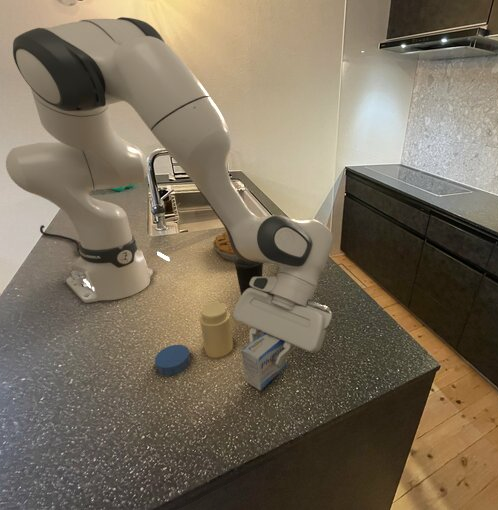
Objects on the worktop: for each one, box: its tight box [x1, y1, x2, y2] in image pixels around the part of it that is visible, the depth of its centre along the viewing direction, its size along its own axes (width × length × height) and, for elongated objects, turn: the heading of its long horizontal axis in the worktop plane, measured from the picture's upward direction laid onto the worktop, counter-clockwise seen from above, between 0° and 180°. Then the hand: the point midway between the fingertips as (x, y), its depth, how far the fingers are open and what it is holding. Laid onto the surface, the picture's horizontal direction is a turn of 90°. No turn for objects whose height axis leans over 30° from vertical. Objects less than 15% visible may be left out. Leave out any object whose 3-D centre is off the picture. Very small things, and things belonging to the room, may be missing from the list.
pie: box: [212, 231, 237, 262], centre depth 111 cm, size 22×22×5 cm
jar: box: [199, 301, 234, 359], centre depth 67 cm, size 6×6×11 cm
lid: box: [154, 344, 192, 376], centre depth 64 cm, size 6×6×2 cm
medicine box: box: [241, 332, 288, 391], centre depth 61 cm, size 8×4×9 cm, turn 148°
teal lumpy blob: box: [110, 184, 136, 192], centre depth 161 cm, size 10×10×10 cm
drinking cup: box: [232, 257, 264, 297], centre depth 80 cm, size 8×8×20 cm
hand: (263, 358), depth 60 cm, fingers closed on medicine box, 4 cm apart
